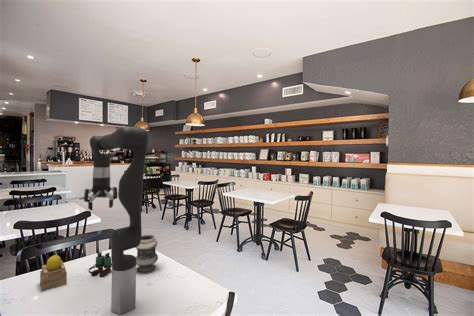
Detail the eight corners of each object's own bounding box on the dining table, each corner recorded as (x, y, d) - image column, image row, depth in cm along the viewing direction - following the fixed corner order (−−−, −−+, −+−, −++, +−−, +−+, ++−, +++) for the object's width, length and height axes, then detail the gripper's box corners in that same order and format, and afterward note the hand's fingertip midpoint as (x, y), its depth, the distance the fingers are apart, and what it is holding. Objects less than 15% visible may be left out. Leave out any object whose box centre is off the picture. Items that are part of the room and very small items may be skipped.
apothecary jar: (132, 266, 130) (133, 235, 130) (154, 261, 137) (155, 231, 136) (136, 276, 120) (137, 242, 120) (160, 271, 127) (161, 238, 126)
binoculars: (85, 260, 116) (98, 250, 126) (86, 279, 117) (99, 268, 127) (101, 261, 115) (114, 251, 125) (102, 281, 116) (115, 269, 126)
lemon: (43, 274, 108) (44, 257, 108) (49, 268, 113) (50, 252, 113) (57, 274, 109) (58, 257, 109) (62, 268, 115) (63, 252, 114)
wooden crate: (66, 284, 111) (66, 267, 111) (42, 291, 105) (42, 273, 105) (63, 276, 118) (63, 260, 118) (40, 283, 111) (40, 266, 111)
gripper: (86, 177, 107) (86, 212, 107) (119, 176, 117) (118, 208, 117) (83, 176, 112) (82, 209, 112) (114, 174, 122) (114, 205, 123)
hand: (100, 208), depth 115 cm, fingers open, 8 cm apart
